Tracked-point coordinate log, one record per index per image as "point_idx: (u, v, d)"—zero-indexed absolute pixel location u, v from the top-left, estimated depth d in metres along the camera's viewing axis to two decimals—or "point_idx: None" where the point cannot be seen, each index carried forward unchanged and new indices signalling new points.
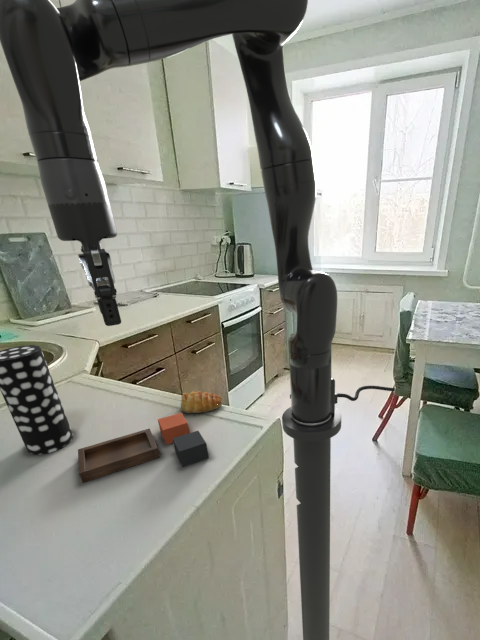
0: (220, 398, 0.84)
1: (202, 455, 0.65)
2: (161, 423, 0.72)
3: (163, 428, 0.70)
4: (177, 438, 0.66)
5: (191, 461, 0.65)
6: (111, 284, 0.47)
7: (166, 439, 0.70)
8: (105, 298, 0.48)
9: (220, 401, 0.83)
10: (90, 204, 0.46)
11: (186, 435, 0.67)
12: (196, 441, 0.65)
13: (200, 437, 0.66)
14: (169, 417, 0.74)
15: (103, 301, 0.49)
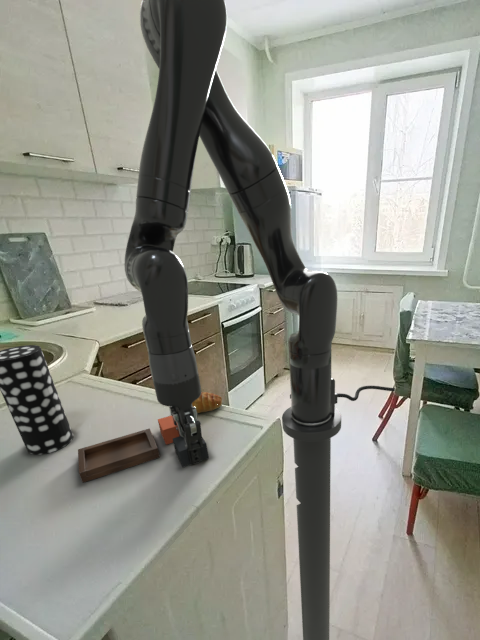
0: (220, 398, 0.84)
1: (202, 455, 0.65)
2: (161, 423, 0.72)
3: (163, 428, 0.70)
4: (177, 438, 0.66)
5: None
6: (200, 442, 0.60)
7: (166, 439, 0.70)
8: None
9: (220, 401, 0.83)
10: (187, 381, 0.58)
11: None
12: None
13: None
14: (169, 417, 0.74)
15: (191, 449, 0.62)
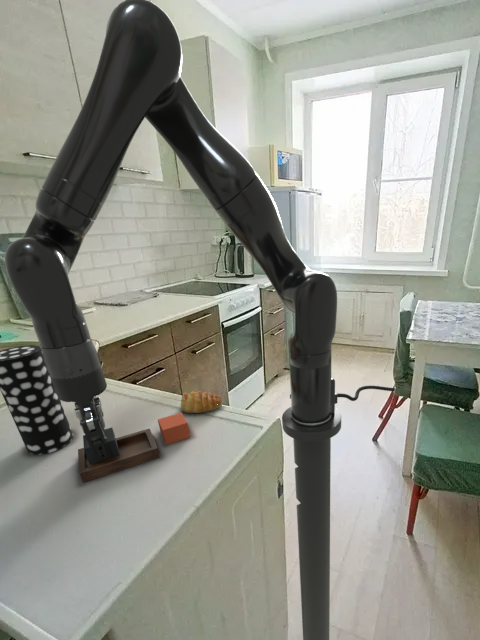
0: (220, 398, 0.84)
1: (111, 453, 0.64)
2: (161, 423, 0.72)
3: (163, 428, 0.70)
4: None
5: None
6: (102, 439, 0.59)
7: (166, 439, 0.70)
8: None
9: (220, 401, 0.83)
10: (84, 376, 0.56)
11: None
12: None
13: (111, 434, 0.65)
14: (169, 417, 0.74)
15: (96, 446, 0.61)
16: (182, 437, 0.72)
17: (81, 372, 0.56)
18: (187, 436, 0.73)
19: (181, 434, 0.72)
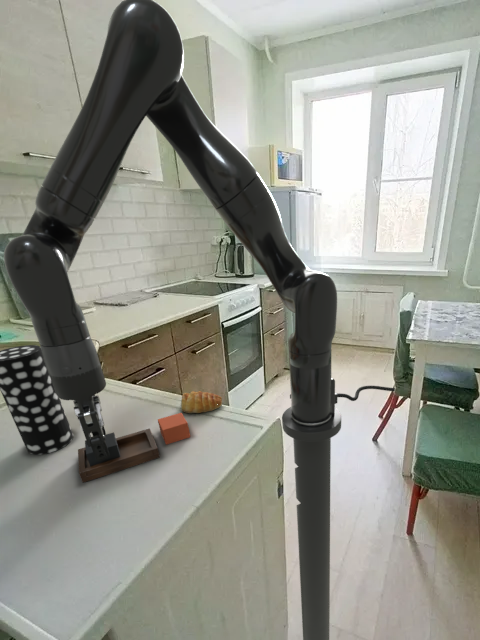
0: (220, 398, 0.84)
1: (113, 458, 0.64)
2: (161, 423, 0.72)
3: (163, 428, 0.70)
4: None
5: None
6: (100, 436, 0.57)
7: (166, 439, 0.70)
8: None
9: (220, 401, 0.83)
10: (83, 374, 0.56)
11: None
12: (107, 443, 0.64)
13: (113, 439, 0.65)
14: (169, 417, 0.74)
15: (94, 445, 0.59)
16: (182, 437, 0.72)
17: (80, 370, 0.55)
18: (187, 436, 0.73)
19: (181, 434, 0.72)
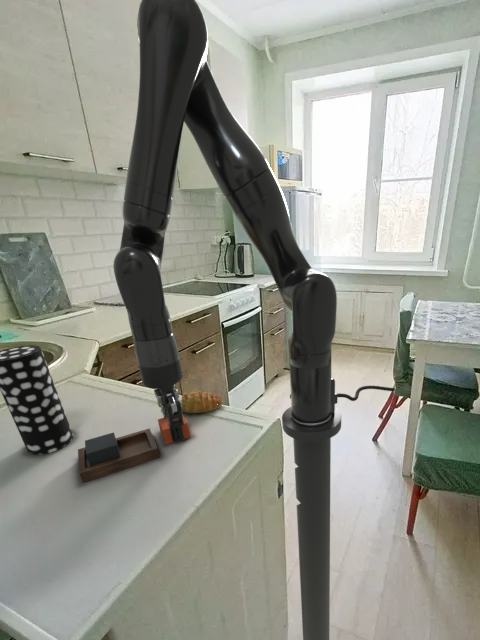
0: (220, 398, 0.84)
1: (113, 458, 0.64)
2: (161, 423, 0.72)
3: (163, 428, 0.70)
4: (89, 440, 0.65)
5: None
6: (181, 421, 0.67)
7: (166, 439, 0.70)
8: (175, 426, 0.68)
9: (220, 401, 0.83)
10: (169, 365, 0.64)
11: (99, 437, 0.66)
12: (107, 443, 0.64)
13: (113, 439, 0.65)
14: None
15: (173, 428, 0.69)
16: None
17: (167, 362, 0.64)
18: (187, 436, 0.73)
19: None
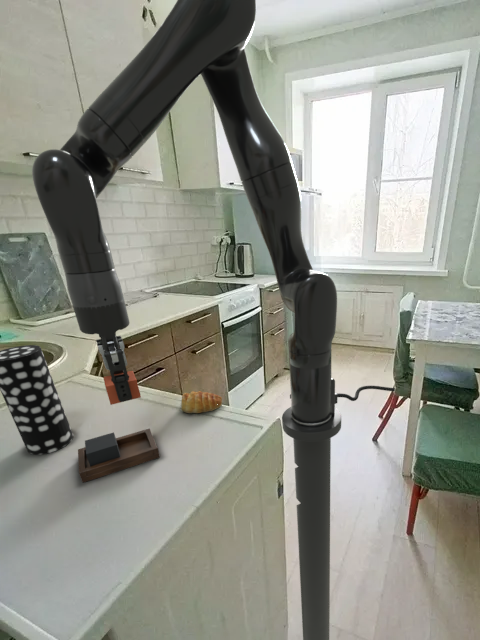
0: (220, 398, 0.84)
1: (113, 458, 0.64)
2: (106, 380, 0.62)
3: (107, 385, 0.60)
4: (89, 440, 0.65)
5: None
6: (125, 374, 0.57)
7: (110, 398, 0.61)
8: (119, 382, 0.59)
9: (220, 401, 0.83)
10: (108, 306, 0.54)
11: (99, 437, 0.66)
12: (107, 443, 0.64)
13: (113, 439, 0.65)
14: None
15: (118, 384, 0.59)
16: None
17: (106, 302, 0.54)
18: (137, 396, 0.63)
19: None
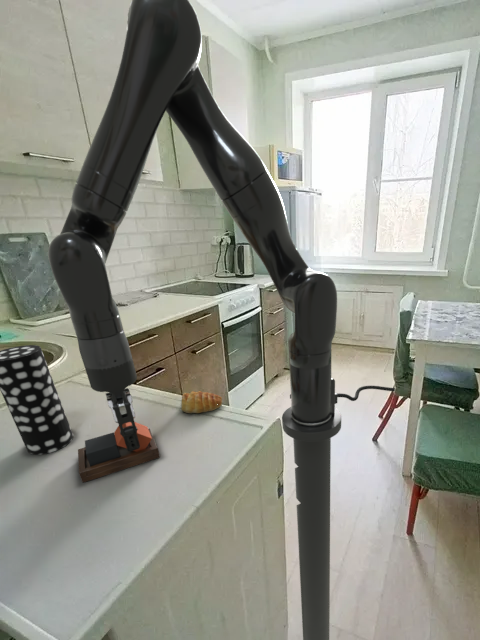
0: (220, 398, 0.84)
1: (113, 458, 0.64)
2: (127, 423, 0.66)
3: None
4: (89, 440, 0.65)
5: None
6: (133, 426, 0.59)
7: (122, 440, 0.64)
8: None
9: (220, 401, 0.83)
10: (118, 367, 0.58)
11: (99, 437, 0.66)
12: (107, 443, 0.64)
13: (113, 439, 0.65)
14: (135, 423, 0.68)
15: (126, 436, 0.61)
16: None
17: (115, 363, 0.58)
18: None
19: None
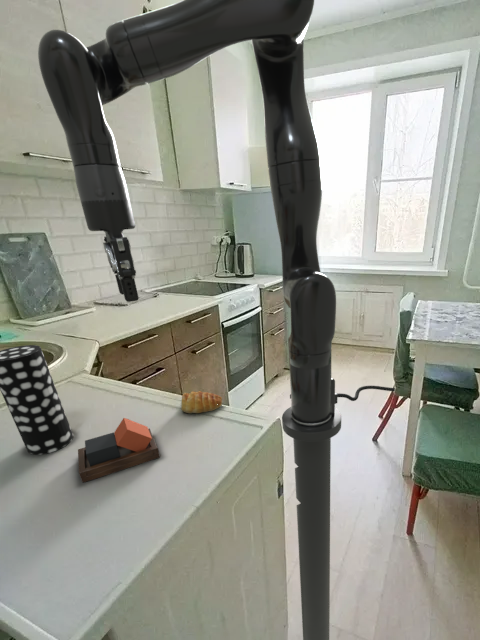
0: (220, 398, 0.84)
1: (113, 458, 0.64)
2: (127, 423, 0.66)
3: (128, 428, 0.64)
4: (89, 440, 0.65)
5: None
6: (132, 266, 0.58)
7: (122, 440, 0.64)
8: (126, 278, 0.59)
9: (220, 401, 0.83)
10: (115, 201, 0.56)
11: (99, 437, 0.66)
12: (107, 443, 0.64)
13: (113, 439, 0.65)
14: (135, 423, 0.68)
15: (124, 280, 0.60)
16: (135, 449, 0.66)
17: (113, 196, 0.56)
18: None
19: (137, 445, 0.66)
